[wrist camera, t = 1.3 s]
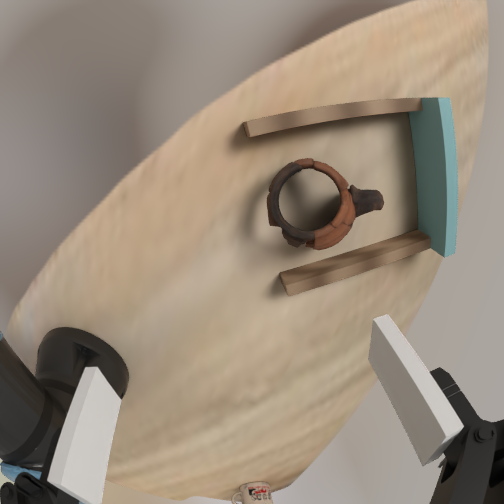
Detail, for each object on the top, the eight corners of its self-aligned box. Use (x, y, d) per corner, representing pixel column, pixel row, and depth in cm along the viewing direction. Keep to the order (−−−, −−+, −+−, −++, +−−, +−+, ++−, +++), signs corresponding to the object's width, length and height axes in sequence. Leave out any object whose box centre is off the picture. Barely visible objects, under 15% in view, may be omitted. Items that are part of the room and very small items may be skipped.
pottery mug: (284, 256, 34) (272, 261, 26) (266, 179, 34) (250, 161, 26) (383, 234, 31) (401, 232, 23) (363, 157, 32) (373, 133, 24)
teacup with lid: (274, 480, 63) (282, 513, 52) (262, 490, 66) (268, 520, 55) (235, 480, 60) (240, 515, 49) (225, 489, 63) (229, 521, 52)
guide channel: (282, 283, 35) (288, 296, 32) (242, 122, 27) (246, 121, 24) (417, 239, 35) (430, 248, 33) (405, 98, 27) (420, 97, 25)
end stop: (417, 239, 35) (444, 257, 30) (405, 98, 27) (438, 97, 22) (428, 235, 35) (454, 253, 30) (417, 97, 27) (449, 97, 22)
